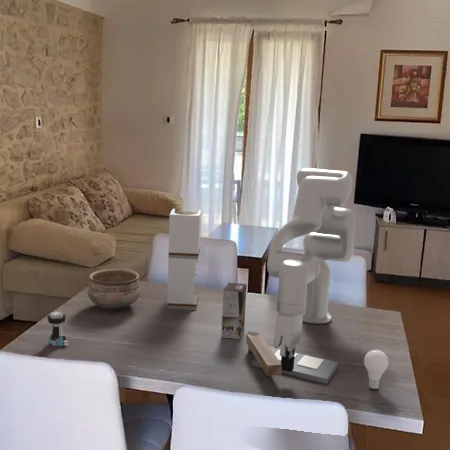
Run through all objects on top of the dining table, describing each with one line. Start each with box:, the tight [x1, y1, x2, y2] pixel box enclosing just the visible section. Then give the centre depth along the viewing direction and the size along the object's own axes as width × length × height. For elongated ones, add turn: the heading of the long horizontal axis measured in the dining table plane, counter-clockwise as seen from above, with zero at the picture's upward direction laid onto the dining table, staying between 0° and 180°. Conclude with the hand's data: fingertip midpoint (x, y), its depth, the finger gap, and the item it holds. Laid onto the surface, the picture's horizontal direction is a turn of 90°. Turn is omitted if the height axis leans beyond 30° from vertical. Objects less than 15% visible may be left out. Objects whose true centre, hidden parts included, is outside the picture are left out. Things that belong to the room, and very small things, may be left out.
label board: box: [252, 346, 339, 385], centre depth 168 cm, size 12×22×2 cm, turn 65°
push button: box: [46, 310, 70, 347], centre depth 175 cm, size 7×5×10 cm
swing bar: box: [245, 330, 282, 377], centre depth 166 cm, size 4×24×3 cm, turn 13°
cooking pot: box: [87, 268, 142, 312], centre depth 207 cm, size 25×19×12 cm
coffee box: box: [220, 282, 247, 340], centre depth 188 cm, size 9×6×16 cm
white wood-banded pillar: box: [166, 208, 202, 311], centre depth 212 cm, size 11×11×35 cm
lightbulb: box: [363, 349, 389, 390], centre depth 155 cm, size 6×6×11 cm
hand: (287, 369), depth 157 cm, fingers closed
